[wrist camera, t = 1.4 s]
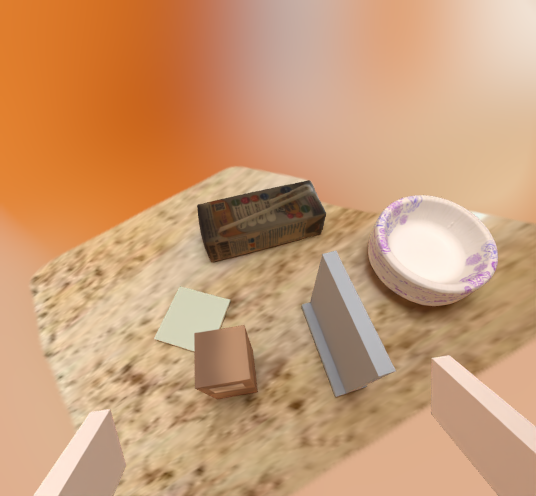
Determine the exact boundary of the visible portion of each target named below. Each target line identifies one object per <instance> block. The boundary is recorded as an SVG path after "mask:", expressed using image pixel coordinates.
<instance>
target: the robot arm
mask: <svg viewBox="0 0 536 496" xmlns="http://www.w3.org/2000/svg"><path fill="white" fill-rule="evenodd" d="M431 414H432V415H433V417H434V418H435V419H436V420H437V422H438V423H439V424H440V425H441V426H442V428H443V429H444V430H445V431H446V433H447V434H448V435H449V436H450V437H451V439H452V440H453V441H454V442H455V443H456V445H457V446H458V447H459V448H460V450H461V451H462V452H463V453H464V454H465V456H466V457H467V458H468V459H469V461H470V462H471V463H472V464H473V465H474V467H475V468H476V469H477V470H478V472H480V474H481V475H482V476H483V478H484V479H485V480H486V481H487V482H488V484H489V485H490V486H491V487H492V489H493V490H494V491H495V492H496V493H497V495H498V496H536V426H534V425H533V424H532V423H531V422H530V421H528V420H527V419H526V418H525V417H523V416H522V415H521V414H520V413H519V412H517V411H516V410H515V409H514V408H512V407H511V406H510V405H509V404H508V403H506V402H505V401H504V400H503V399H502V398H500V397H499V396H498V395H497V394H496V393H494V392H493V391H492V390H491V389H490V388H488V387H487V386H486V385H485V384H483V383H482V382H481V381H480V380H479V379H477V378H476V377H475V376H474V375H473V374H471V373H470V372H469V371H468V370H466V369H465V368H464V367H463V366H462V365H460V364H459V363H458V362H457V361H456V360H454V359H453V358H452V357H451V356H450V355H447V356H441V357H435V358H432V367H431ZM125 467H126V463H125V460H124V456H123V452H122V449H121V445H120V442H119V438H118V435H117V431H116V428H115V424H114V421H113V417H112V413H111V410H110V409H107V410H101V411H95V412H90V413H89V415H88V416H87V418H86V419H85V421H84V422H83V424H82V425H81V427H80V428H79V429H78V431H77V432H76V434H75V435H74V437H73V438H72V440H71V441H70V443H69V444H68V446H67V447H66V449H65V450H64V451H63V453H62V454H61V456H60V457H59V459H58V460H57V462H56V463H55V465H54V466H53V468H52V469H51V471H50V472H49V473H48V475H47V476H46V478H45V479H44V481H43V482H42V484H41V485H40V487H39V488H38V490H37V491H36V492H35V494H34V496H113V495H114V493H115V491H116V488H117V486H118V484H119V481H120V479H121V476H122V474H123V472H124V469H125Z"/></svg>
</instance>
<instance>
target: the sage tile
mask: <svg viewBox="0 0 536 496" xmlns="http://www.w3.org/2000/svg"><path fill="white" fill-rule="evenodd" d="M230 302H231V301H230V300H229V299H225V298H221V297H218V296H214V295H210V294H207V293H203V292H199V291H195V290H192V289H188V288H184V287H181V286H180V287H179V289H178V291H177V293H176V295H175V297H174V299H173V301H172V303H171V305H170V307H169V309H168V311H167V313H166V315H165V317H164V319H163V322H162V324H161V326H160V328H159V330H158V332H157V334H156V336H155V338H154V339H155V340H158V341H161V342H164V343H167V344H170V345H174V346H177V347H180V348H183V349H186V350H190V351H193V352H195V350H194V333H198V332H204V331H211V330H217V329H220V328H221V326H222V323H223V321H224V318H225V315H226V313H227V310H228V307H229V305H230Z"/></svg>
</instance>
